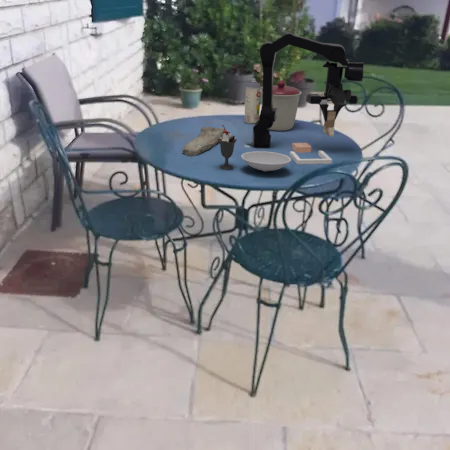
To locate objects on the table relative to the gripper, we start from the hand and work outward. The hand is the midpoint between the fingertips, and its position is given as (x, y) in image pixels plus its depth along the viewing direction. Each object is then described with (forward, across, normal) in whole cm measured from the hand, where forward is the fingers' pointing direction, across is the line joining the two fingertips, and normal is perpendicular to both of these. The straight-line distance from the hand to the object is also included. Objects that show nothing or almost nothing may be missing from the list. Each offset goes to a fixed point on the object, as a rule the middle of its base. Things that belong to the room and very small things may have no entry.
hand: (329, 121), depth 214 cm
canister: (+12, -10, +36) cm, 39 cm away
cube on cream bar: (+5, 0, 0) cm, 5 cm away
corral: (+12, -10, -9) cm, 18 cm away
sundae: (+12, -43, -16) cm, 48 cm away
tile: (+12, -10, +2) cm, 16 cm away
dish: (+12, -30, -21) cm, 39 cm away
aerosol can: (+12, -19, +47) cm, 52 cm away
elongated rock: (+13, -46, +14) cm, 50 cm away
